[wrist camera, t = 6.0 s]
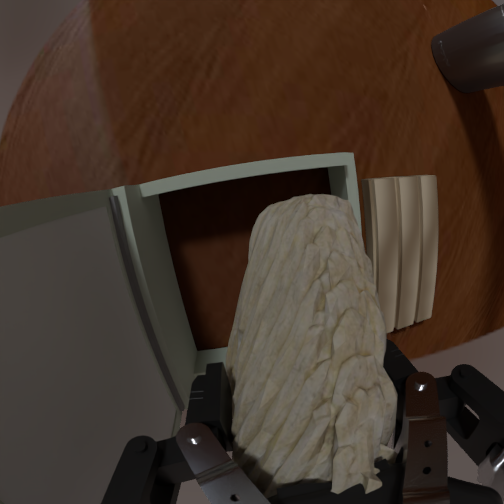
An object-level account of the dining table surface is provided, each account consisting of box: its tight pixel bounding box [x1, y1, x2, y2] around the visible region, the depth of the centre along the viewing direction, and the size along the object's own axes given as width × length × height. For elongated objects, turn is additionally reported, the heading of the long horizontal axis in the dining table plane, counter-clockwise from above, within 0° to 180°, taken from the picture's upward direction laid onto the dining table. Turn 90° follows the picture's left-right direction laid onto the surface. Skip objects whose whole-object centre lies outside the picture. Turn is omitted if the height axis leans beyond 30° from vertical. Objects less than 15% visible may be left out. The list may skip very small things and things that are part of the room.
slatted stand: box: [361, 175, 438, 333], centre depth 26 cm, size 9×17×2 cm, turn 9°
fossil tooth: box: [226, 194, 398, 499], centre depth 9 cm, size 12×6×15 cm
